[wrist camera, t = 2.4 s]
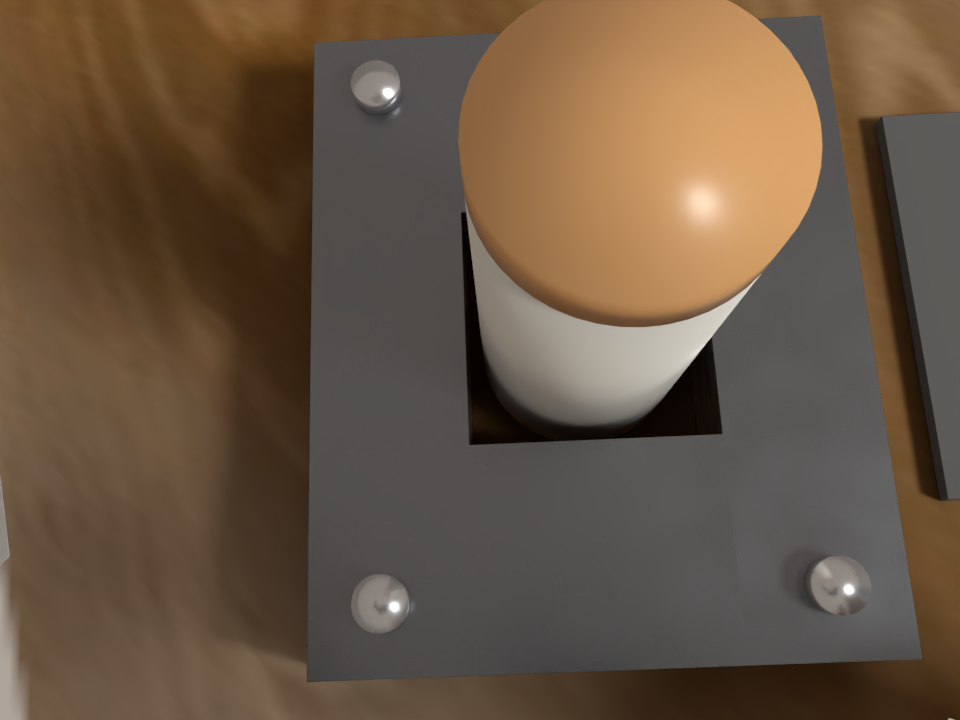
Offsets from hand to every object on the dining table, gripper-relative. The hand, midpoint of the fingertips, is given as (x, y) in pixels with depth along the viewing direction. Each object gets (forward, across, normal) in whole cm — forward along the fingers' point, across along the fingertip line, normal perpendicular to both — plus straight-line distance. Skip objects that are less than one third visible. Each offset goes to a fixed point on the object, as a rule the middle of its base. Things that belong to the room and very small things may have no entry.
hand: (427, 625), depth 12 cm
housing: (+15, +1, -4) cm, 16 cm away
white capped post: (+15, +1, -4) cm, 16 cm away
